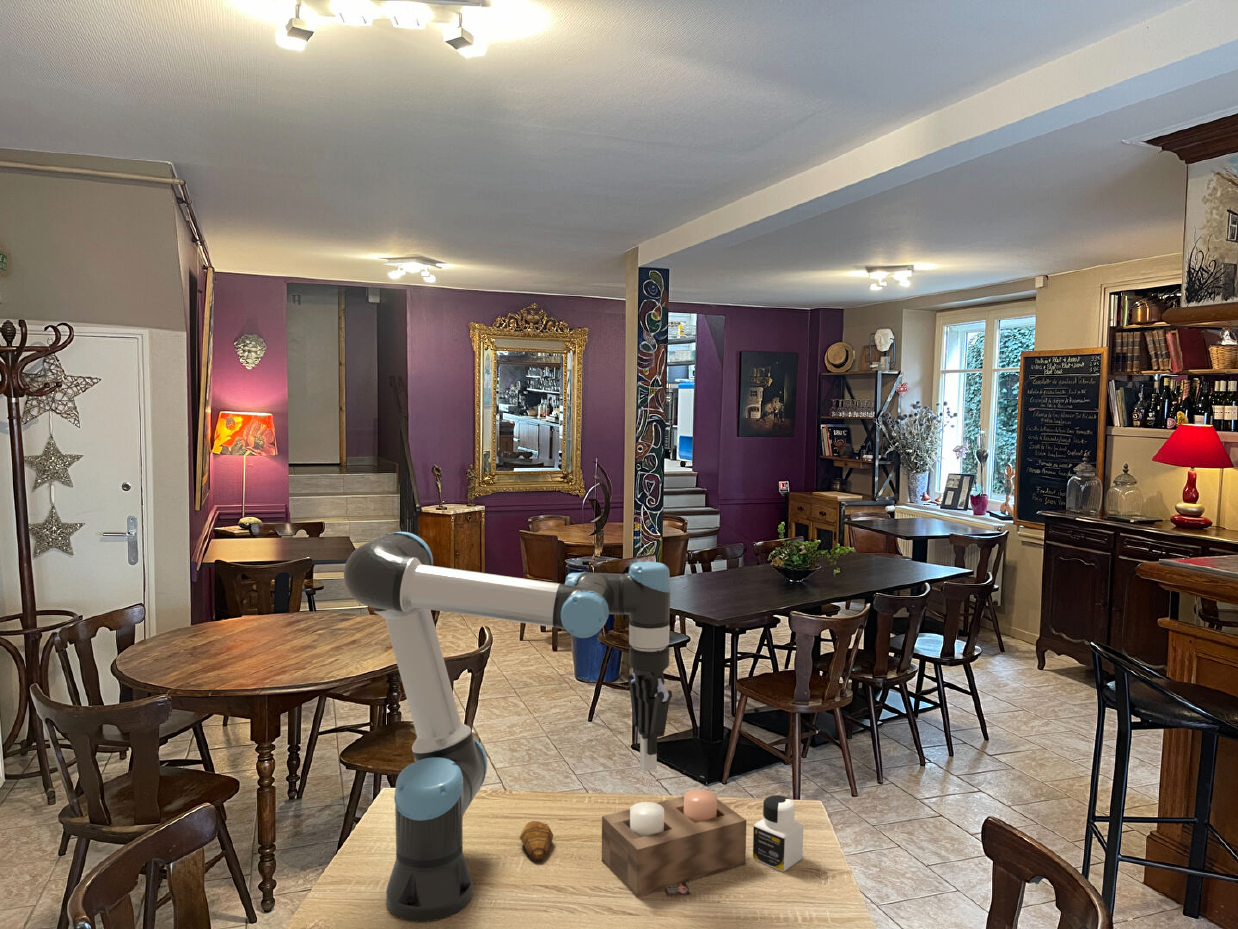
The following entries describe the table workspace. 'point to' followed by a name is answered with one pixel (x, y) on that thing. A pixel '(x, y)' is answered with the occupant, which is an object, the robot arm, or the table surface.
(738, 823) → the wooden egg holder
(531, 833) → the croissant
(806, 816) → the table surface
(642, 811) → the white egg in box
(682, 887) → the chocolate bar
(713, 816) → the pink egg shaped ball
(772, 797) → the medicine bottle
